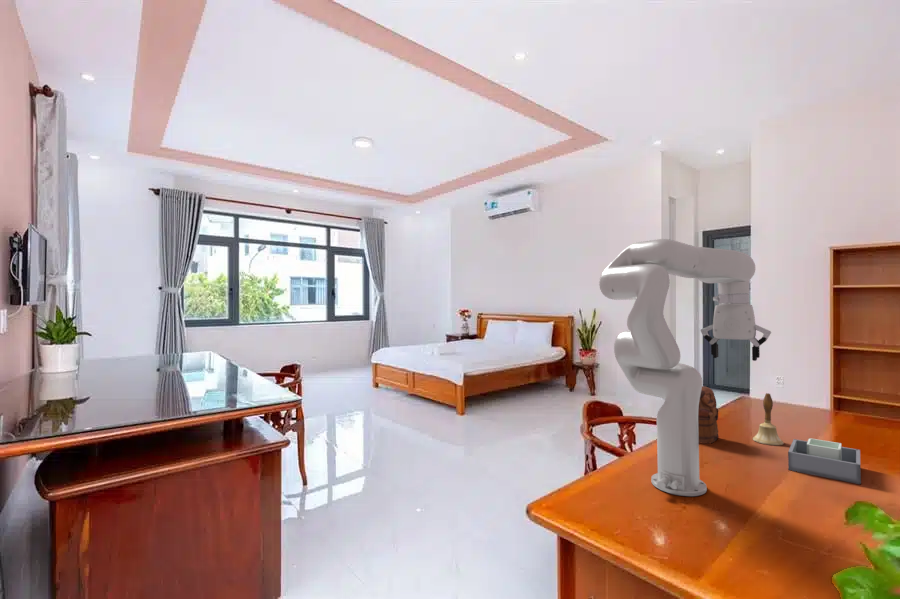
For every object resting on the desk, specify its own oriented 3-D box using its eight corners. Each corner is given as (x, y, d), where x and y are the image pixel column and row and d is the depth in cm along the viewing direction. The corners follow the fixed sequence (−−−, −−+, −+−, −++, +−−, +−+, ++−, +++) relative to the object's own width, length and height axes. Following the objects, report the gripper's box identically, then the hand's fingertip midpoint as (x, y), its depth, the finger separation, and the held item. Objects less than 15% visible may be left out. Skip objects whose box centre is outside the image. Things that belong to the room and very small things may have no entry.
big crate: (860, 484, 110) (860, 465, 110) (788, 469, 120) (788, 452, 120) (860, 467, 121) (860, 449, 121) (793, 455, 131) (793, 439, 131)
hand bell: (773, 437, 148) (772, 390, 148) (789, 445, 140) (788, 396, 140) (747, 437, 149) (746, 390, 149) (762, 445, 140) (761, 396, 140)
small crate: (840, 472, 116) (840, 449, 116) (807, 465, 121) (806, 444, 121) (841, 464, 121) (841, 443, 121) (809, 458, 126) (808, 438, 126)
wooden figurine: (707, 445, 141) (706, 390, 141) (687, 441, 146) (686, 387, 146) (722, 438, 148) (721, 385, 148) (702, 433, 153) (701, 383, 153)
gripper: (697, 300, 130) (698, 358, 130) (768, 300, 118) (769, 362, 118) (703, 300, 135) (704, 355, 135) (772, 299, 123) (773, 359, 123)
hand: (734, 358), depth 126 cm, fingers open, 9 cm apart
